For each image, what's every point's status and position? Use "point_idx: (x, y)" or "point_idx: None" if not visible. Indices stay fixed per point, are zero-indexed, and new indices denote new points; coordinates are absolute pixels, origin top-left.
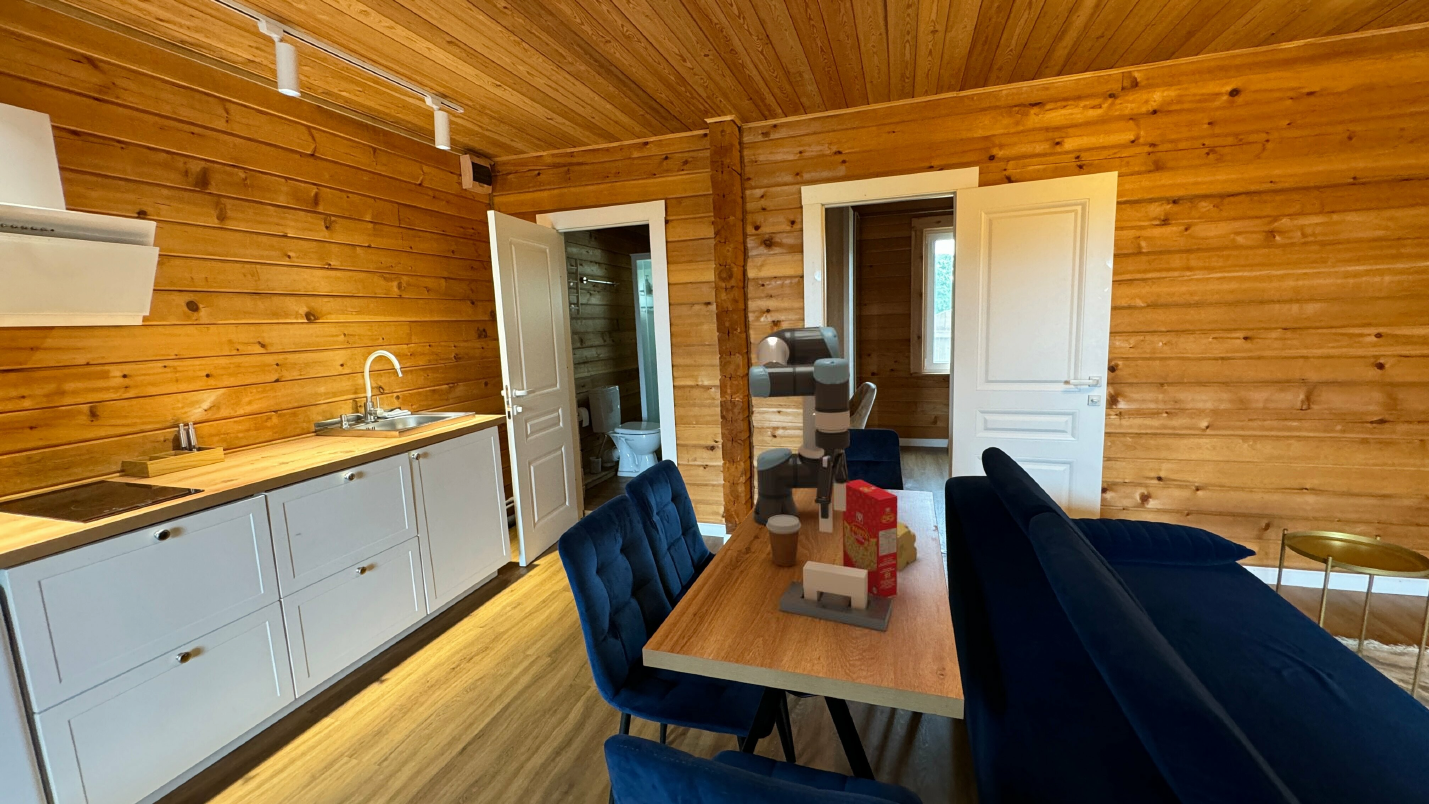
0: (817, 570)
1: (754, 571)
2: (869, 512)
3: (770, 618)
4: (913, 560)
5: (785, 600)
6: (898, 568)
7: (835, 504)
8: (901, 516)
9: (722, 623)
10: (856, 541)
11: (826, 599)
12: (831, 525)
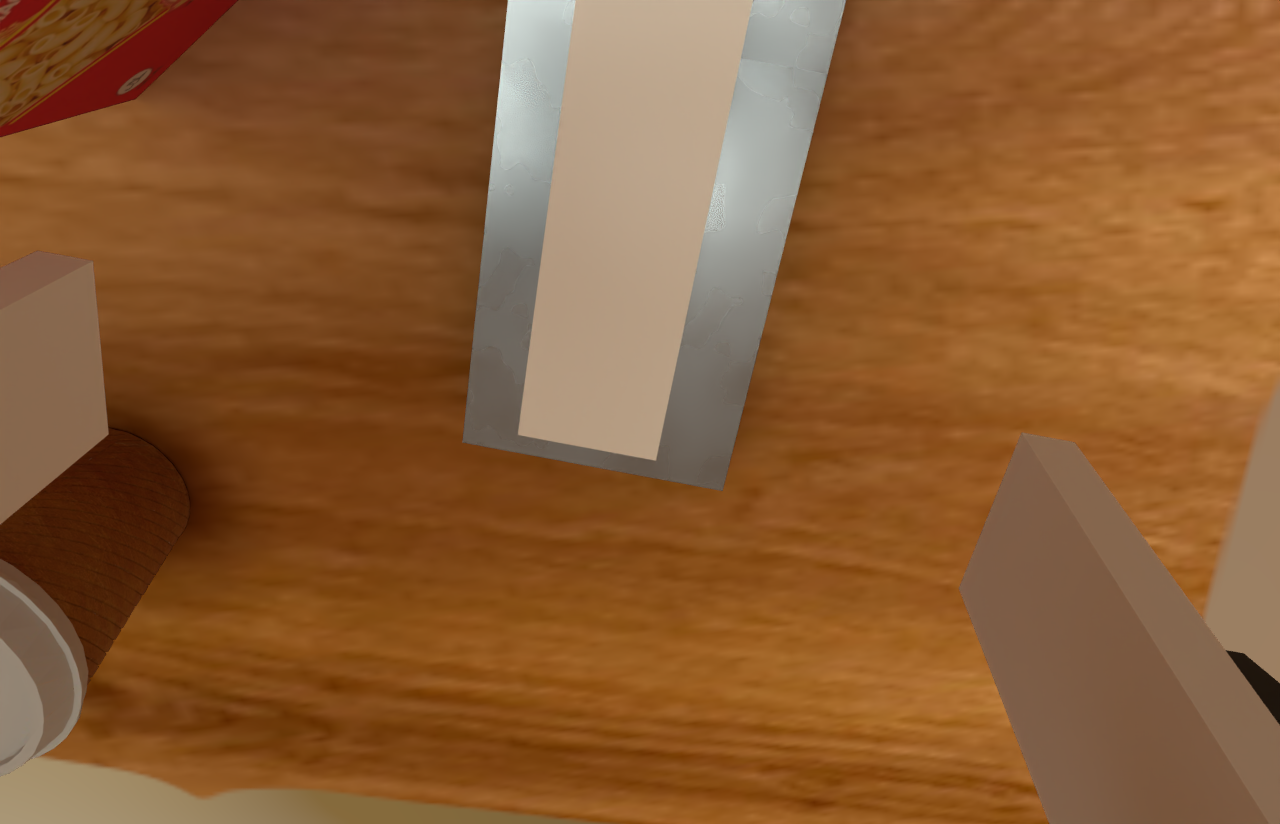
0: (678, 351)
1: (313, 628)
2: None
3: (812, 493)
4: None
5: (715, 457)
6: None
7: (50, 458)
8: None
9: (884, 691)
10: (35, 15)
11: None
12: (1116, 507)
